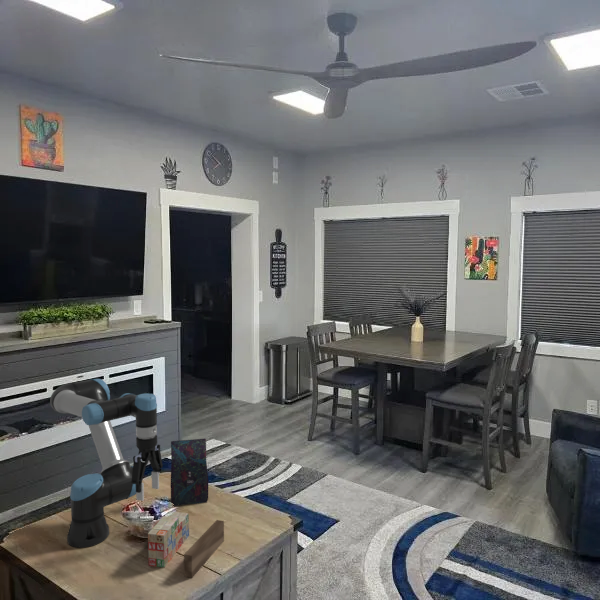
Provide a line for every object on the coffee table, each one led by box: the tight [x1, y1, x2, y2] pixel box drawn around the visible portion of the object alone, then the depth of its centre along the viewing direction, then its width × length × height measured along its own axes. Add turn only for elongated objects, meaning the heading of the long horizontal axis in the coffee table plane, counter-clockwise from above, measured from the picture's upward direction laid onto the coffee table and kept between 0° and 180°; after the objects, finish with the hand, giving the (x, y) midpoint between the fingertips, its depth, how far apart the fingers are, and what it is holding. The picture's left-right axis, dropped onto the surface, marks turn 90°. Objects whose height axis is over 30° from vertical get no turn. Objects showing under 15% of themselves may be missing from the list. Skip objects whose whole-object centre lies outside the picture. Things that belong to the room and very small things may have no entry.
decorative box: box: [170, 438, 209, 507], centre depth 228 cm, size 8×16×28 cm, turn 104°
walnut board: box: [183, 519, 225, 579], centre depth 186 cm, size 3×24×8 cm, turn 162°
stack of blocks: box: [147, 511, 190, 568], centre depth 190 cm, size 21×6×12 cm, turn 169°
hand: (148, 493), depth 192 cm, fingers open, 9 cm apart
